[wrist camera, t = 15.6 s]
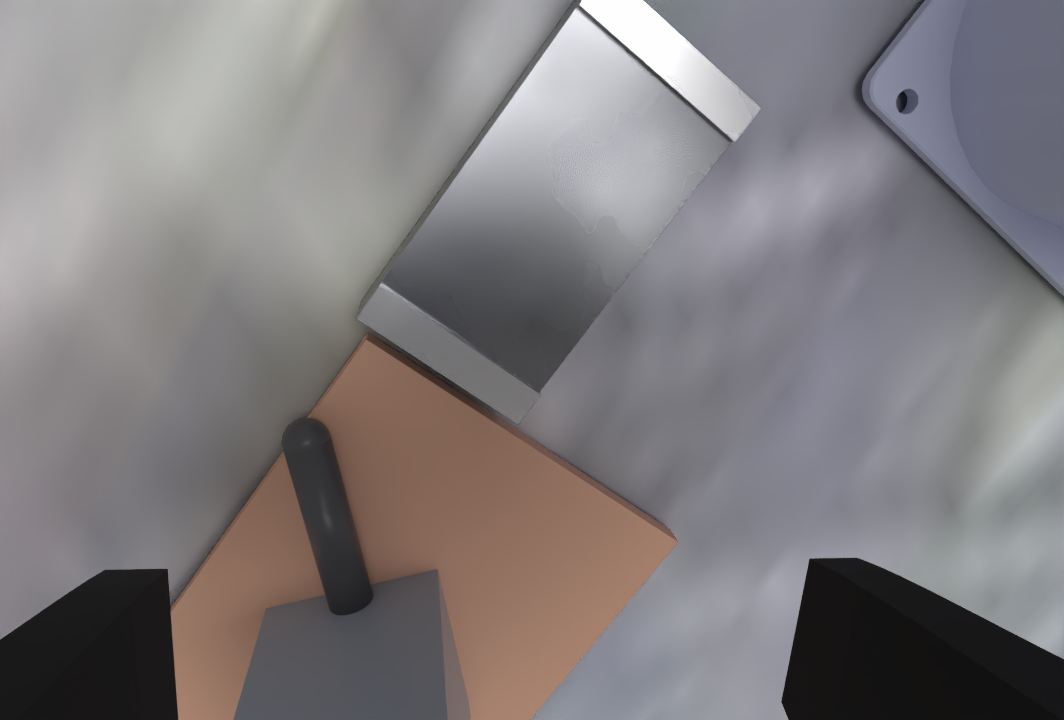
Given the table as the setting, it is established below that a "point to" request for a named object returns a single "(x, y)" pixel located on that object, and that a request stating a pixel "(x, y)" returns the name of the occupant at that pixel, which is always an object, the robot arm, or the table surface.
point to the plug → (350, 621)
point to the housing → (556, 201)
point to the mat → (428, 543)
